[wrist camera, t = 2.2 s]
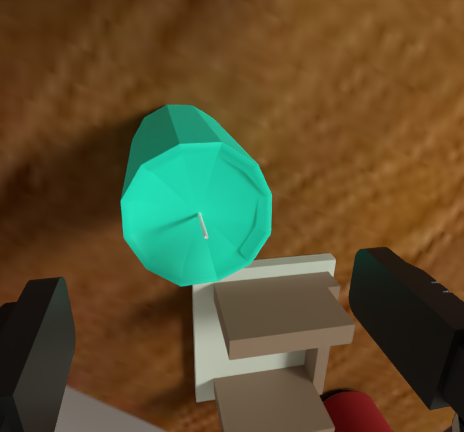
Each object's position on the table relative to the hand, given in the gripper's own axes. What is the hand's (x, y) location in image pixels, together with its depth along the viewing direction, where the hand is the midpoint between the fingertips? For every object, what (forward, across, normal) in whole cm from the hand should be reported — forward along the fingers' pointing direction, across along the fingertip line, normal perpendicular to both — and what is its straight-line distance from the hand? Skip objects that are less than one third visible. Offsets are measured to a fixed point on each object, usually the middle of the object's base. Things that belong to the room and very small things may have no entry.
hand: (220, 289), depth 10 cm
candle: (+15, 0, 0) cm, 15 cm away
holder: (+15, -6, +15) cm, 22 cm away
